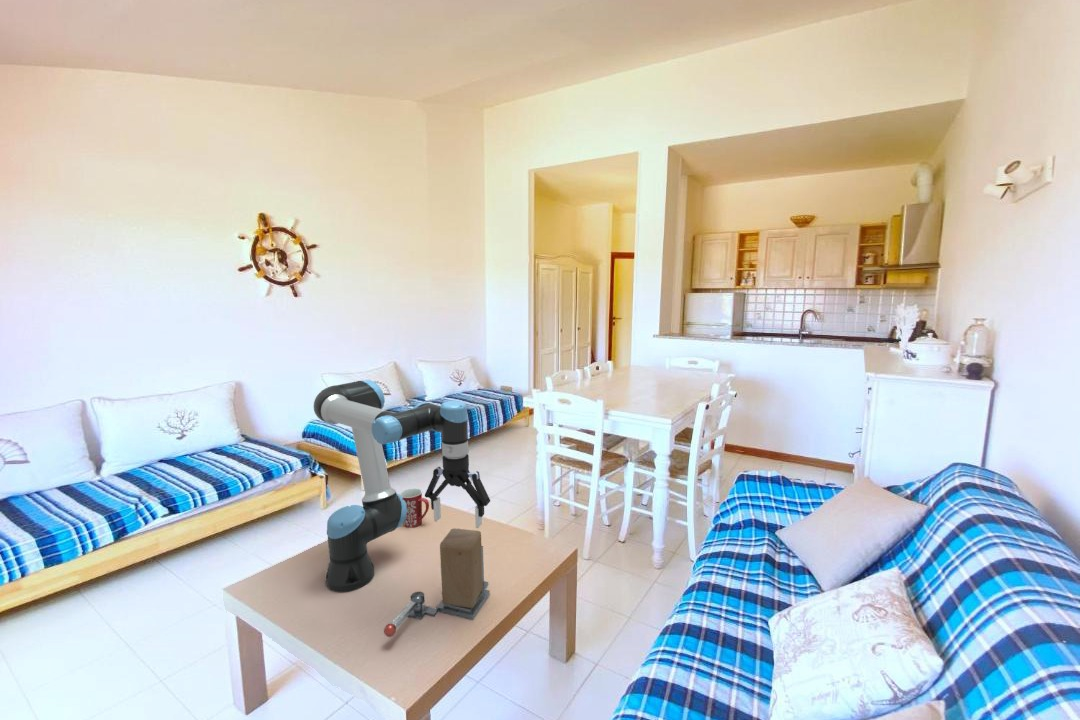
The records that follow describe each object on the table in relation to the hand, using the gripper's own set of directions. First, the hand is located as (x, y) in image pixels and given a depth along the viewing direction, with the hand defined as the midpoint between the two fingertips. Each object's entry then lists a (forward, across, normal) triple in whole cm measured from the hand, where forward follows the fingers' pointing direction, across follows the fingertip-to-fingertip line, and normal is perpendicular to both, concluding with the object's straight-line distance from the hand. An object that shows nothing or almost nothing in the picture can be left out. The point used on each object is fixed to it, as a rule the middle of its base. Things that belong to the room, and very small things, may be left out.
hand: (457, 522), depth 142 cm
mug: (+27, -40, +39) cm, 62 cm away
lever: (+24, -10, -14) cm, 29 cm away
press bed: (+27, -3, 0) cm, 27 cm away
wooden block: (+25, +1, 0) cm, 25 cm away
